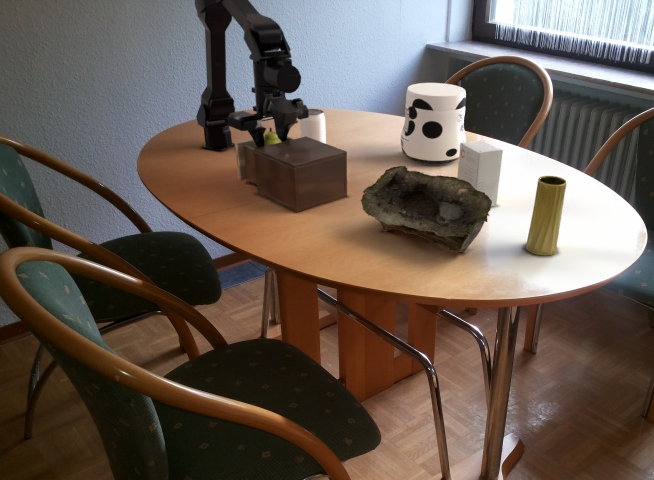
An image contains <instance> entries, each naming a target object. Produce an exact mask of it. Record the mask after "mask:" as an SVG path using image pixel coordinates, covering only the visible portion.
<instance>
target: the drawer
mask: <svg viewBox="0 0 654 480" xmlns="http://www.w3.org/2000/svg"><path fill="white" fill-rule="evenodd" d="M293 139H294V138H292V137H289V136H287V139H286V141H289V140H293ZM234 143H235V145H234V147H235V156H236V167H237V178H238V180H240V181H244V180H246V181H248V182H250V183H252V184H254V185H256V186H257V178H256V166H255V153H254V148H257V146H256V144H255V142H254V140H253V138H250V139H245V140H241V141H235V142H234Z"/></svg>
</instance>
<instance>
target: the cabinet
mask: <svg viewBox="0 0 654 480" xmlns="http://www.w3.org/2000/svg"><path fill="white" fill-rule="evenodd" d="M292 139H293V140H289V141H284V142H280V143H276V144H271V145H267V146H263V147H258V148H254V153H255V166H256V178H257V185H256V189H257V194H258V195H260V196H262V197H264V198H265V199H268V200H270V201H271V202H274V203H276V204H278V205H280V206H282V207H284V208H286V209H289V210H291V211H292V212H295V213H299V212H302V211H306V210H309V209H312V208H315V207H318V206H321V205H324V204H325V205H326V204H327V203H330V202H331V203H332V202H334V201H338V200H341V199H343V198H346V197H348V151H346V150H344V149H342V148H338V147H336V146H334V145H331V144H327V143H326V144H325V143H322V142H320V141H317V140H314V139H312V138H309V137H302V138H301V137H298V138H292Z"/></svg>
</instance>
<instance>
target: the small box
mask: <svg viewBox="0 0 654 480" xmlns="http://www.w3.org/2000/svg"><path fill="white" fill-rule="evenodd" d="M503 152H504V150H503V149H501V148H500V147H498V146H496V145H494V144H492V143H490V142H488V141H485V140H484V139H482V140H472V141H471V140H470V141H466V142H461V143H460V153H459V158H458V165H457V176H456V178H458V179H460V180H465V181H467V182H469V183H470V184H471V185H472V186H473V187H474V188H475V189H476V190H477V191H481V192H484V193H485V195H488V197H489V198H490V200H491V201H492V204H491V207H494V206H495V207H496V206H497V204H498V194H499V185H500V176H501V169H502V159H503Z"/></svg>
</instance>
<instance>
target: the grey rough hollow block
mask: <svg viewBox="0 0 654 480" xmlns="http://www.w3.org/2000/svg"><path fill="white" fill-rule="evenodd" d="M362 193H363V195H362V196H361V198H360V202H361V206H362V210H363V211H364V213H365V214H366V215H367V216H370V217H372V218H374V219H375V220H376V221H378V222H379V223H380V224H381V227H382V231H391V230H395V231H396V230H399V231H402V232H404V234H407V235H408V234H411V235H414V236H417V237H422V238H423V239H425V240H426V241H427V242H431V243H432V244H435V245H439V246H441V247H442V248H446V249H448V250H450V251H454V252H460V253H462V254H464V253H465V252H466V250H467V249H468V248H469V246H470V245H471V244H472V243H473V241H474V240H475V239H476V238H477V237H478V235H479V233H480V232H481V230H482V228H483V227H484V224H485V223H487V222H488V217H490V214H489V212H490V211H491V208H492V206H491V204H492V201H491V200H490V198H489V197H488V195H485V193H484V192H481V191H477V190H476V189H475V188H474V187H473V186H472V185H471V184H470V183H469V182H467V181H465V180H460V179H458V178H457V176H456V177H455V176H449V175H430V174H427V173H424V172H421V171H417V170H409V169H408V167H407V166H406V165H397V166H392V167H390V168H387V169H385V171H384V173H383V174H381V175H380V177H378V179H377V180H376V181H375V182H374V183H372V185H370V186H369V185H368V186H367V187H365V189H364V190H362Z"/></svg>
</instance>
